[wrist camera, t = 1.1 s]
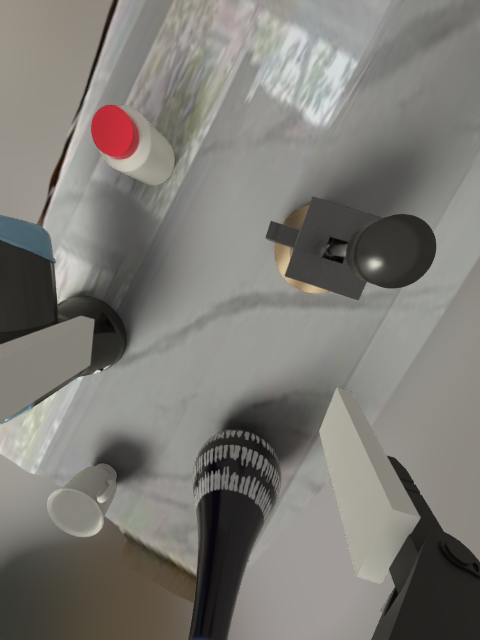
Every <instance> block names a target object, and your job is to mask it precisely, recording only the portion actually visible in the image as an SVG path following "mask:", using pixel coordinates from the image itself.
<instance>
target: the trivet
mask: <svg viewBox="0 0 480 640" xmlns="http://www.w3.org/2000/svg"><path fill="white" fill-rule="evenodd" d="M309 205H310V204H309ZM309 205H306V206H304V207H302V208H300V209H298V210H297V211H295V212H294V213H293V214H292V215H291V216H290V217H289V218H288V219H287V220H286V221H285V222H284V224H283V225H285V226H288V227H292V228H295V229H299V228H300V227H301V226H302V225H303V222H304V219H305V216H306V213H307V211H308V208H309ZM290 259H291V258H290V247H288V246H285V245H282V244H279V243H275V260H276V263H277V266H278V269H279V271H280V273H281V274H282V276H283V277H284V278H285V280H286V281H287V282H288V283H290V284H291V285H292V286H294V287H295V288H297V289H299V290H302V291H305V292H309V293H325V292H329V291H328V290H325V289H322V288H319V287H316V286H313V285H310V284H307V283H304V282H301V281H297V280H294V279H291V278H288V277H285V273H286V270H287V267H288V264H289V261H290Z"/></svg>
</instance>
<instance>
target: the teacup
mask: <svg viewBox="0 0 480 640" xmlns="http://www.w3.org/2000/svg"><path fill="white" fill-rule="evenodd" d="M116 478H117V474H116V471H115V470H114V469H113V468H112V467H111V466H110V465H108V464H104V463H101V464H98V465H96V466H92V467H88V468H86V469H84V470H83V471H81V472H80V473H79V474H77V475H76V476H75V477H74V478H73V479H72V480H71V481H70V482H69V483H67V484H66V485H65V486H64V487H63V488H62V489H58V490H56V491H54V492H53V493H52V494H51V495H50V496H49V498H48V502H47V510H48V513H49V516H50V517H51V519H52V520H53V522H54V523H55V524H56V525H57V526H58V527H59V528H60V529H62V530H63V531H65V532H67V533H69V534H71V535H74V536H79V537H88V536H92V535H95V534H96V533H98V532H99V531H100V530H101V528H102V526H103V522H104V516H105V513H106V511H107V509H108V507H109V505H110V504H111V502H112V500H113V497H114V495H115V492H116V486H117V485H116Z"/></svg>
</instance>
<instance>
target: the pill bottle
mask: <svg viewBox="0 0 480 640" xmlns="http://www.w3.org/2000/svg"><path fill="white" fill-rule="evenodd" d="M91 132H92V137H93V140H94V142H95V144H96V146H97V147H98V149H99V151H100V153H101V156H102V157H103V159H104V160H105V161H106V162H107V163H108V164H109V165H110V166H111V167H112V168H114V169H116V170H118V171H120V172H122V173H124V174H126V175H128V176H130V177H132V178H134V179H136V180H138V181H140V182H142V183H144V184H147V185H152V186H153V185H159V184H162V183H163V182H165V181H166V180H167V179H168V178H169V177H170V175H171V174H172V172H173V169H174V164H175V156H174V151H173V148H172V146H171V144H170V143H169V141H168V140H167V139H166V138H165V137H164V136H163V135H162V134H161V133H160V132H159V131H158V130H157V129H156V128H155V127H154V126H153V125H152V124H151V123H150V122H149V121H148V120H147V119H146V118H145V117H144V116H143V115H142V114H141V113H140V112H138V111H137V110H135V109H134V108H132V107H129V106H125V105H119V106H114V105H106V106H104V107H102V108H100V109H99V110H98V111H97V112H96V114H95V115H94V117H93V120H92V125H91Z"/></svg>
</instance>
